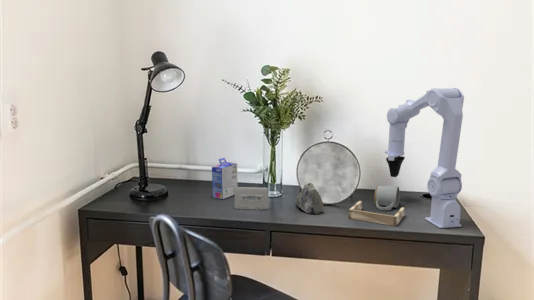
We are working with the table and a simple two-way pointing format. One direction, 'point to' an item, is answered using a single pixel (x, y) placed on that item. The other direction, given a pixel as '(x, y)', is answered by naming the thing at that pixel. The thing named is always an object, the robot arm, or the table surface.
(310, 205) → the mineral rock
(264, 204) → the cassette
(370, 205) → the table surface
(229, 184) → the ink cartridge box
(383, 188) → the ceramic mug
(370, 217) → the bracket
